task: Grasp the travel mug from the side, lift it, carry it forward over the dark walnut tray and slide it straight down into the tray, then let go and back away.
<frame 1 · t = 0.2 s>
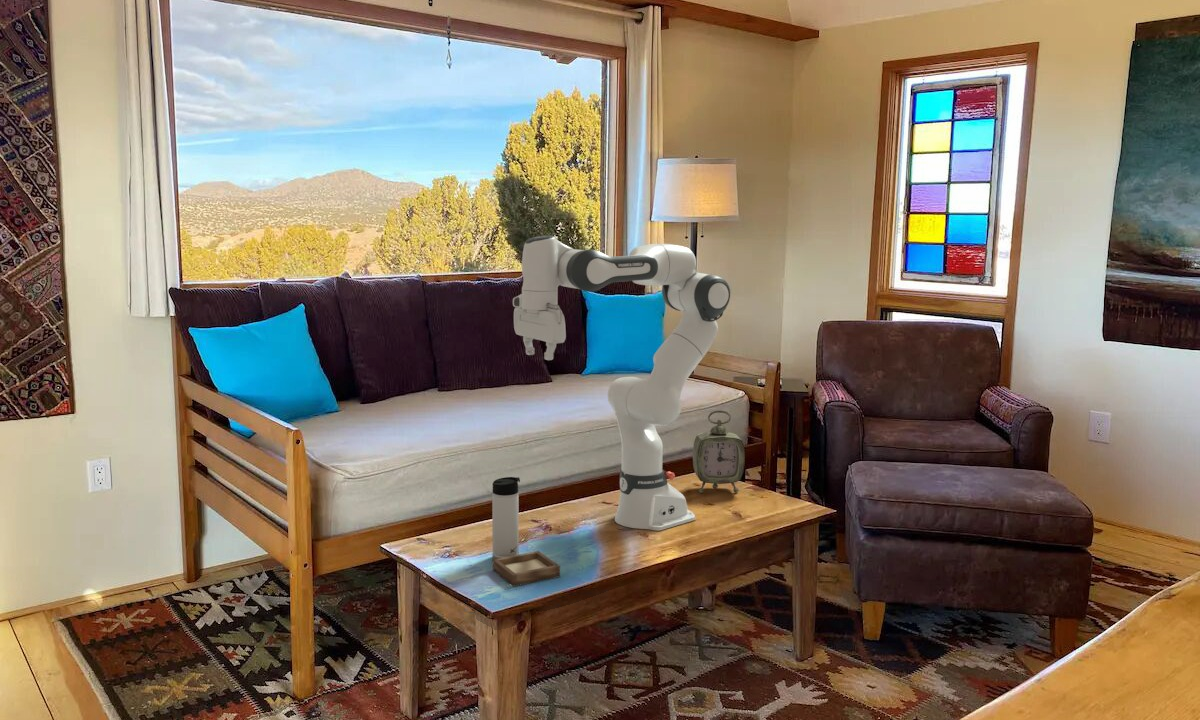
hand: (539, 357, 231), 47 cm above the table, tool pointing down, fingers open, 8 cm apart
tabletop clock: (716, 491, 283), on the table
tray: (526, 573, 216), on the table
travel mug: (506, 559, 225), on the table
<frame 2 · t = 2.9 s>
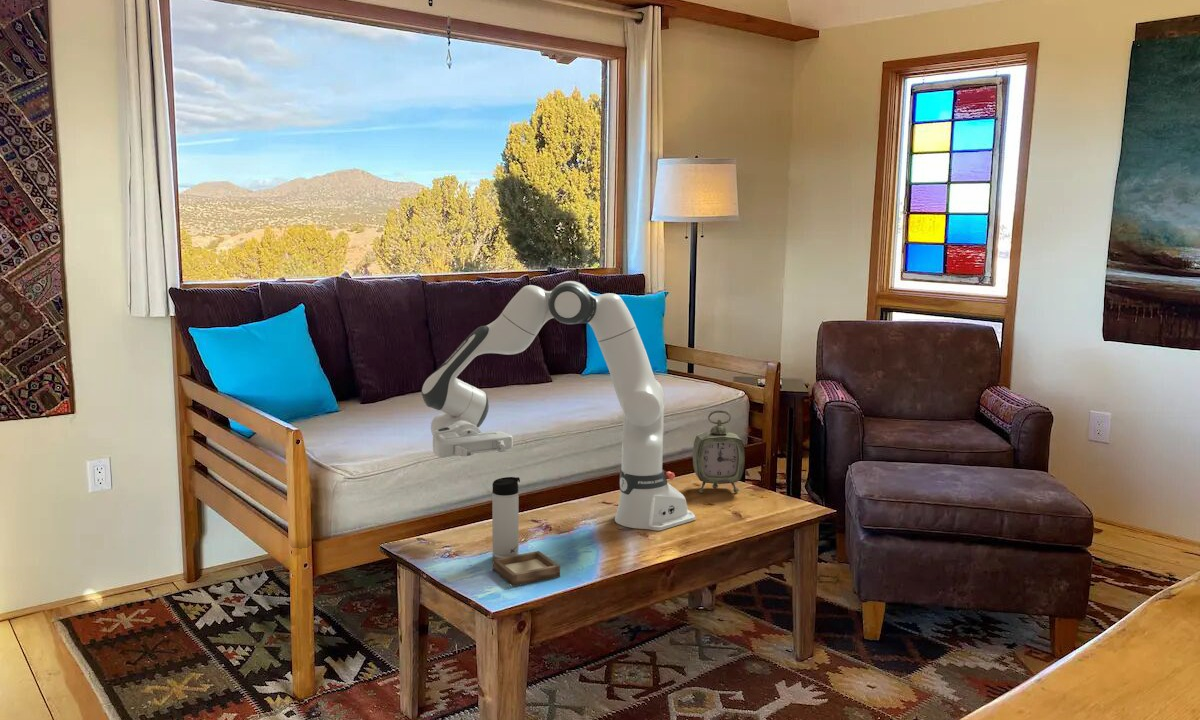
hand: (485, 451, 232), 24 cm above the table, tool horizontal, fingers open, 8 cm apart
nothing on the table moved.
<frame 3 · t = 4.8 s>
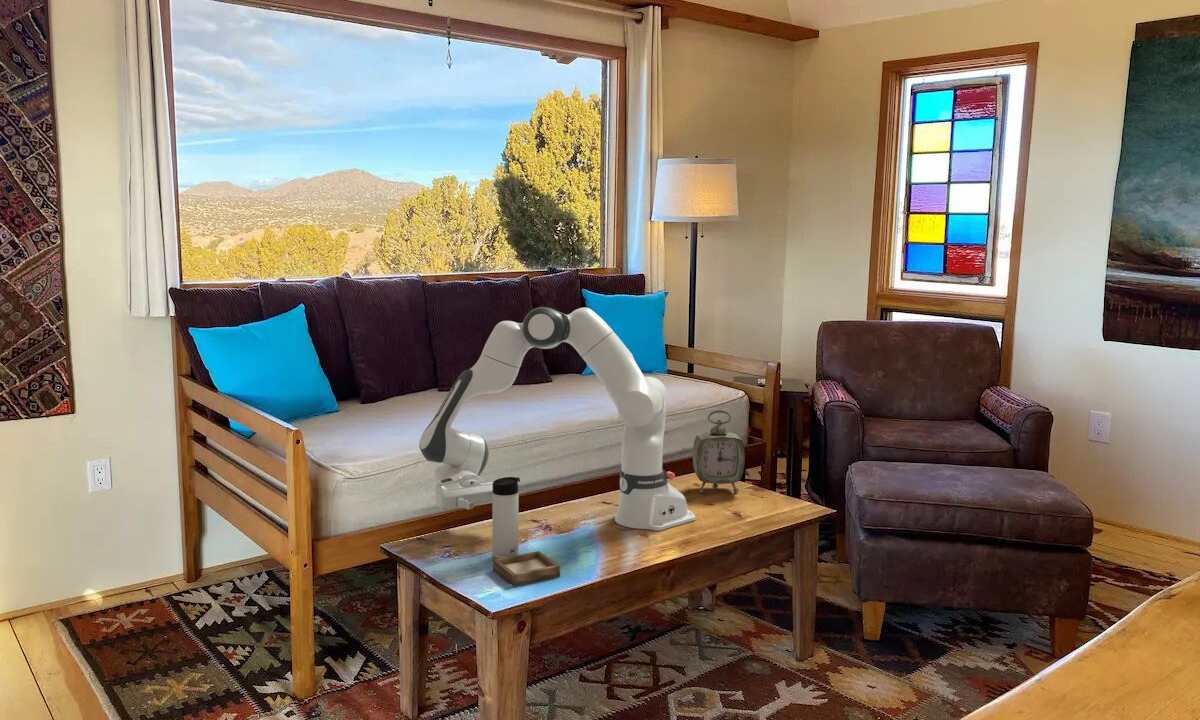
hand: (488, 503, 232), 11 cm above the table, tool horizontal, fingers open, 8 cm apart
nothing on the table moved.
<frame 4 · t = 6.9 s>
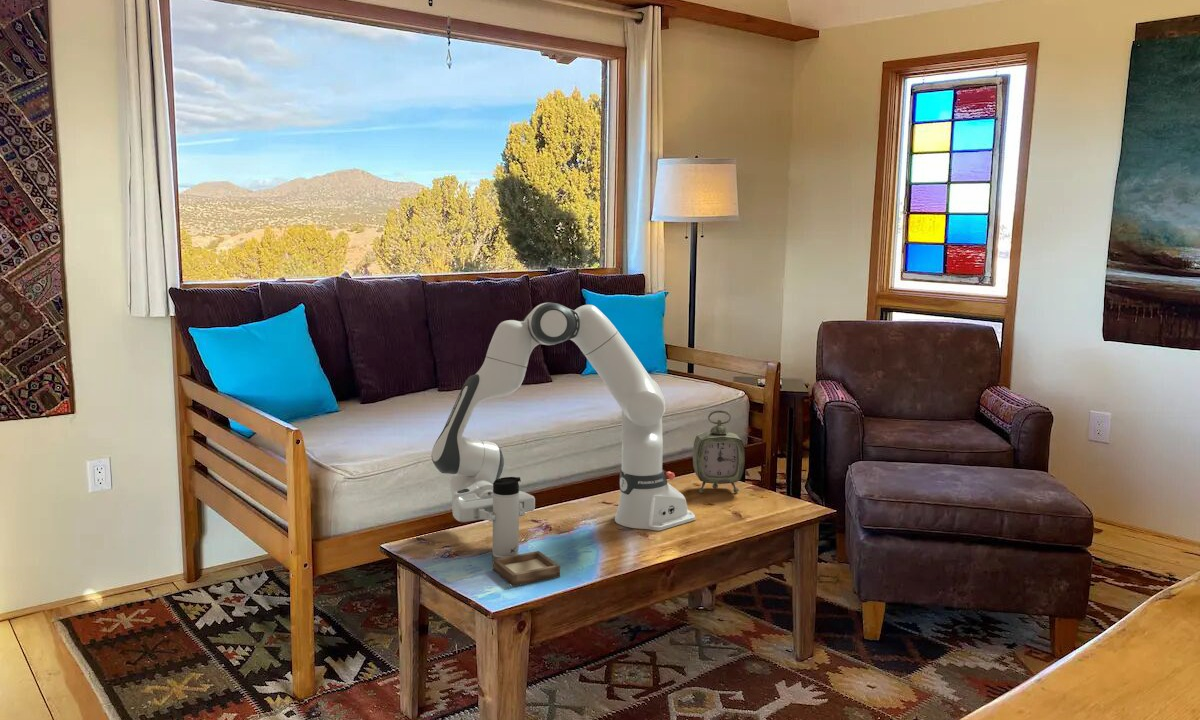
hand: (507, 515, 223), 11 cm above the table, tool horizontal, fingers closed on travel mug, 6 cm apart
travel mug: (506, 558, 225), on the table, touching gripper
everything else where it was.
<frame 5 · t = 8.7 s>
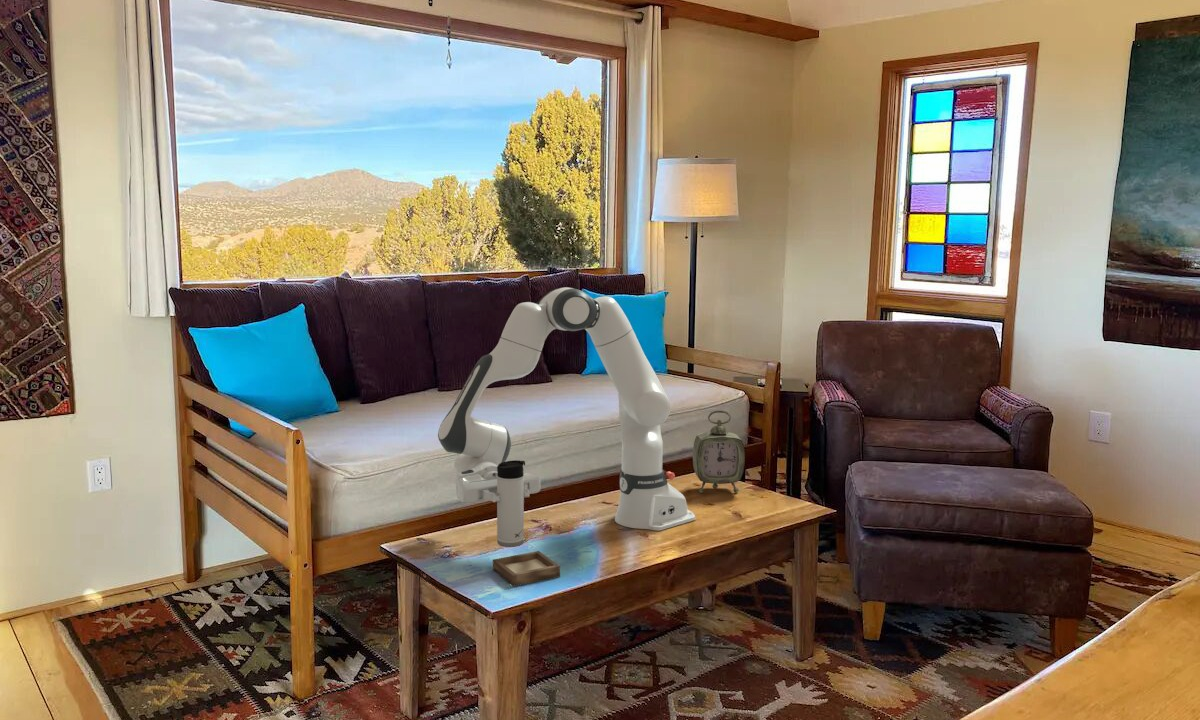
hand: (512, 496, 219), 17 cm above the table, tool horizontal, fingers closed on travel mug, 6 cm apart
travel mug: (511, 543, 222), point 5 cm above the table, touching gripper
everything else where it was.
when the fingers open (14 cm above the table, at t = 10.6 s): travel mug stays where it is, resting on tray.
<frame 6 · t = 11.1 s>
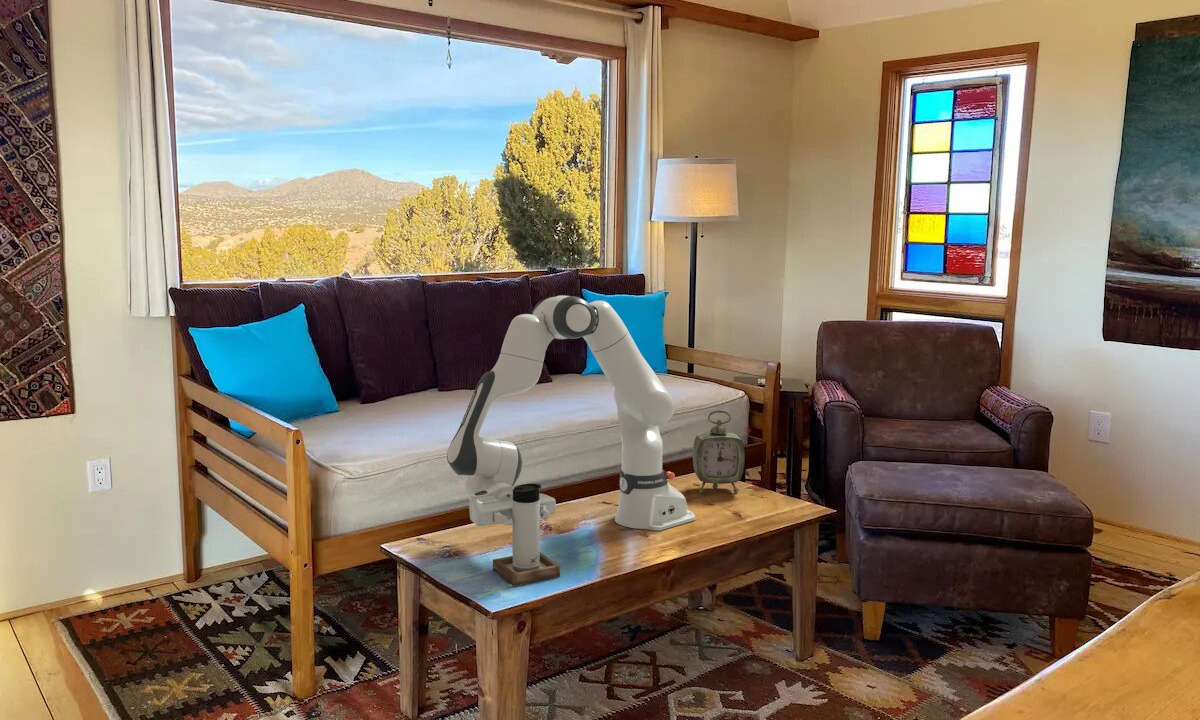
hand: (528, 518, 213), 14 cm above the table, tool horizontal, fingers open, 8 cm apart
travel mug: (526, 569, 216), point 1 cm above the table, touching tray
everything else where it was.
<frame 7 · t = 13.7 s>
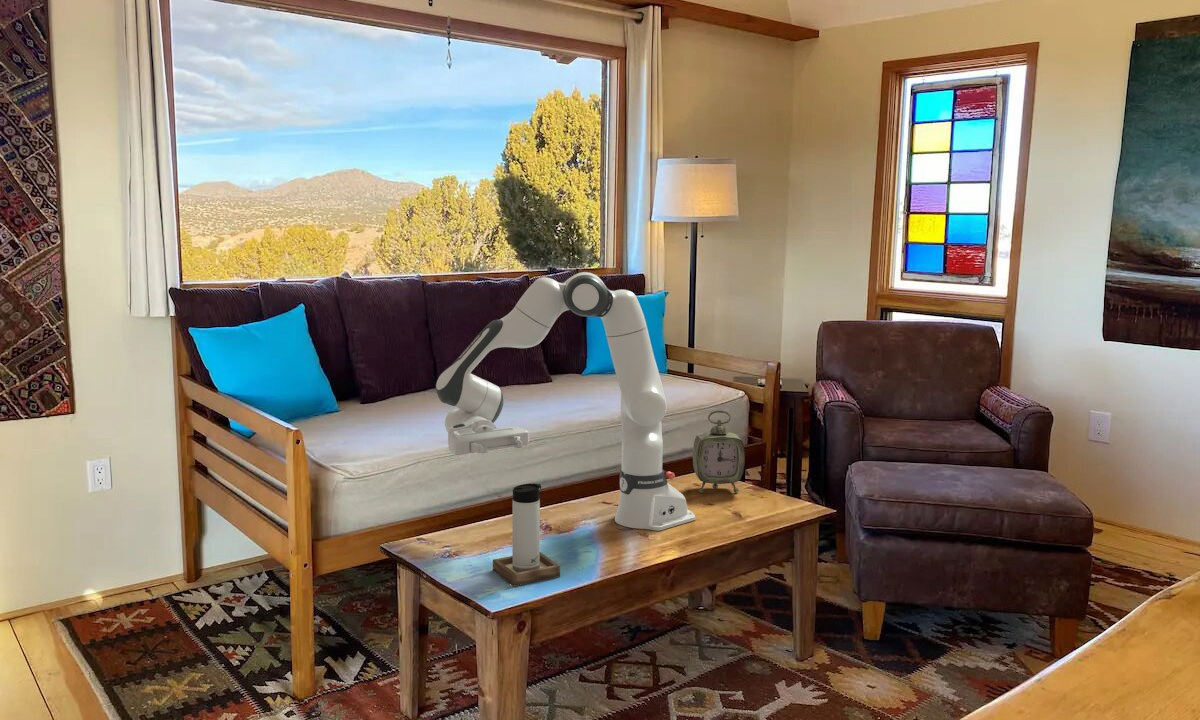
hand: (502, 447, 229), 26 cm above the table, tool horizontal, fingers open, 8 cm apart
nothing on the table moved.
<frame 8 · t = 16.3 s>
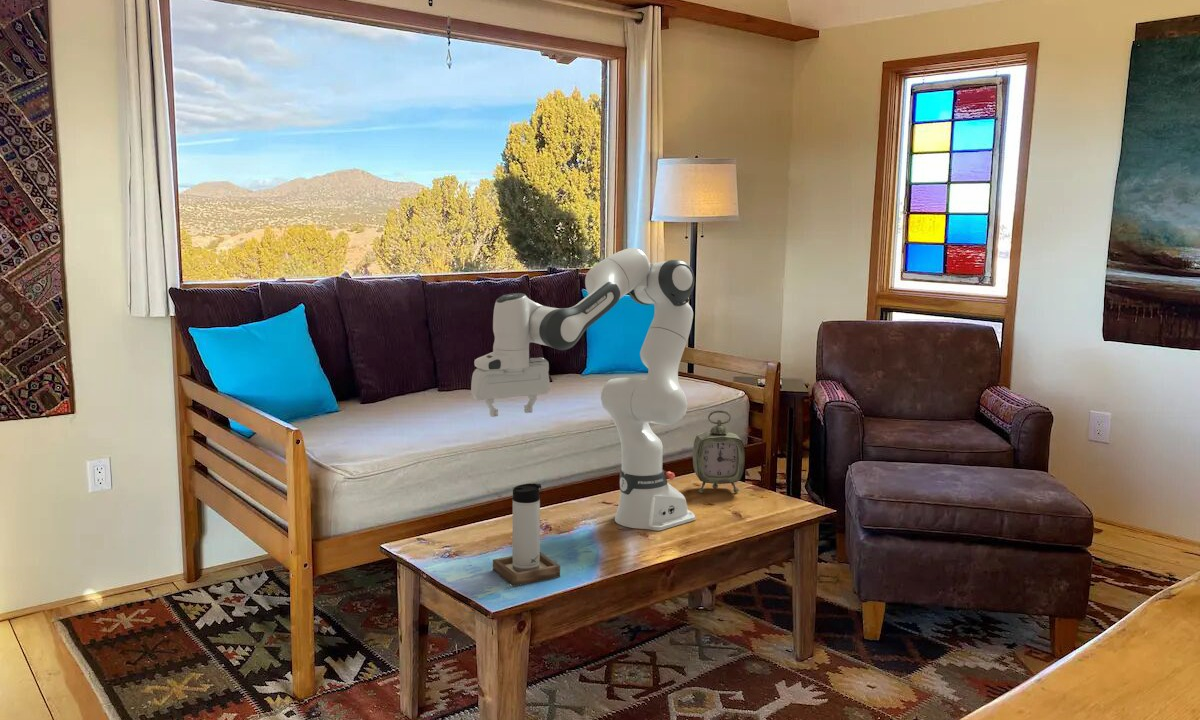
hand: (511, 414, 232), 33 cm above the table, tool pointing down, fingers open, 8 cm apart
nothing on the table moved.
at the end: travel mug inside the target area on the tray (0.2 cm from its centre), point 1.0 cm above the tray's base; travel mug tilted 0°; the gripper is holding nothing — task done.
